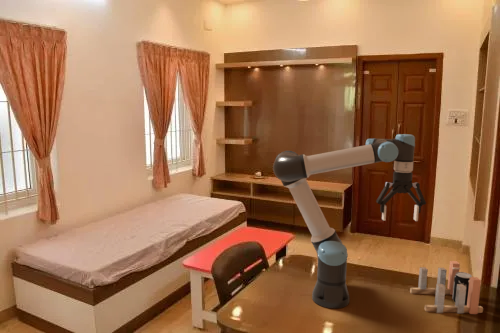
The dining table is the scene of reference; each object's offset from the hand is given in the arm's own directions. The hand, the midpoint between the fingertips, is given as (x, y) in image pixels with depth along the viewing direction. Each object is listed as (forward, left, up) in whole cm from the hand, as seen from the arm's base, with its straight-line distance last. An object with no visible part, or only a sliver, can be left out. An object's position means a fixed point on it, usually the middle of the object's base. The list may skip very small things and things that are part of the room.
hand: (399, 220), depth 167 cm
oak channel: (+17, -10, -32) cm, 37 cm away
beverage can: (+24, -10, -32) cm, 41 cm away
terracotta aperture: (+24, -10, -32) cm, 41 cm away
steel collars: (+15, -10, -32) cm, 36 cm away
